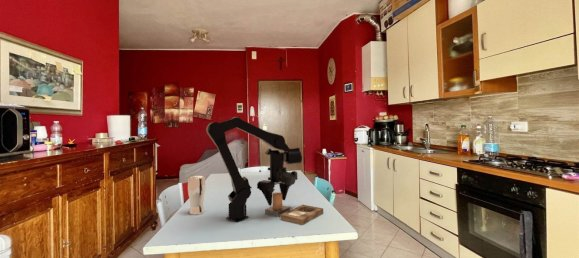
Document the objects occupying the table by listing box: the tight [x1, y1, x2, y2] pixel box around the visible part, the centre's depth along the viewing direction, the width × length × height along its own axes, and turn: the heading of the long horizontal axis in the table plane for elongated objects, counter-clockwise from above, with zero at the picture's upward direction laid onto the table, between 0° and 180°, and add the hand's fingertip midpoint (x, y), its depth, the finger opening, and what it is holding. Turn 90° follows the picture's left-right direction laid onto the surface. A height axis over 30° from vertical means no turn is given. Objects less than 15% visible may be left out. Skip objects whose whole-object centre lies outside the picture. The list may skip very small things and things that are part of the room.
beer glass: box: [187, 175, 206, 215], centre depth 117 cm, size 7×7×15 cm
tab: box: [264, 205, 291, 218], centre depth 115 cm, size 8×7×2 cm
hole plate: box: [279, 204, 324, 226], centre depth 110 cm, size 16×10×2 cm, turn 145°
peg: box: [272, 192, 283, 210], centre depth 115 cm, size 4×4×6 cm
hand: (277, 202), depth 115 cm, fingers open, 9 cm apart
